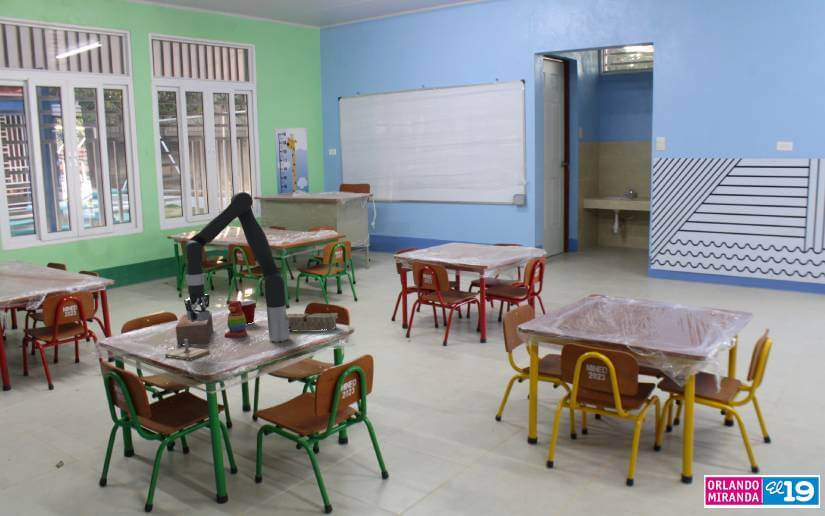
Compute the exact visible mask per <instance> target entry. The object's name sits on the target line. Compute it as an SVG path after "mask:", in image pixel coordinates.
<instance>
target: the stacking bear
mask: <svg viewBox="0 0 825 516" xmlns="http://www.w3.org/2000/svg"><path fill="white" fill-rule="evenodd" d="M241 302H242V301H241V300H230V301H228V305H227V306H228V307H227V308H228V311H229V313H228V315H227V327H228V330H229V331H226V332H225V334H224V337H225V338H237V339H238V338H244V337H246V336H247V335H248V331H247V330H246V329H247V325H246V318H245V315H244V313H243V312H242V311H241V309H242V304H241Z"/></svg>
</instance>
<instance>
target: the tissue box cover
mask: <svg viewBox="0 0 825 516" xmlns="http://www.w3.org/2000/svg"><path fill="white" fill-rule="evenodd" d="M212 331H213V332H214V325H213V315H212V311H211V312H210V319H208V320H205V321H202V322H200V321H193V320H187V313H186V314H182V316H181V317H180V319H179V321H178V322H177V324H176V326H175V334H176V343H177V346H178V345H183V344H184V339H188V344H196V345H207V344H209V341H210V340H209V339H211V336H212V335H211V334H213V332H212Z"/></svg>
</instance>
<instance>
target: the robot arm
mask: <svg viewBox="0 0 825 516" xmlns="http://www.w3.org/2000/svg"><path fill="white" fill-rule="evenodd" d="M253 203H254V202H253V197H252V195H251V194H250V193H248V192H246V191H238V192H235V193H234V194H232V196H231V198H230V203H229V204H228V205H227V207H226V208H225V209H224V210H222V212H221V213H219V214H218V215H217V216H215V217H214V218H213V219H212V220H210V221H209V222H207V224H206V225H205V226H204V227H203V228H202V229H201V230H200V231H198V233H196V234H194V235H193V236H191V237H190V239H188V240H187V241H186V242H185V244H184V245H183V250H184V252H185V253H186V255H187V263H186V276H187V277H186V280H187V293H188V295H189V296H188V298H187V299H184V301H183V302H184V306H185V310H186V312H187V311H188V312H190V314H191V319H192V320H196V314H195V310H196V309H198V305H199V307H200V310H207V308H209V307H210V297H211V296H210V294H208V293H205V292H206V288H205V278H204V269H203V268H204V267H203V254H204V253H203V248H204V247H205V246H206V245H207V244H210V243H212V242H213V241H214V240H215V239H216V237H218V236H219V235H220V234H221V233H222V232H223V231H224V230H225V229H226V228H227V227H228V226H229V225H230V224H231V223H232V222H233V221H234V220H235V219H238V220H239V221H238V222H240V224H241V228H242V231H243V235H244V237H245V240H246V243H247V245H248V247H249V250H250V252H251V254H252V255H253V257H254V259H255V260H256V262H257V263H258V265H259V267H260V269H261V273H262V275H263V279H264V293H265V294H264V295H265V303H266V315H267V329H268V337H269V338H268V339H269V341H270V342H271V341H274V342H273V343H284V342H286V341H288V340H290V339H291V336H290V335H291V333H290V330H289V321H288V320H287V316H286V314H287V306H286V304H287V303H286V293H285V279H284V277H283V276H282V274H281V272H280V270H279V268H278V267H277V264H276V263H275V260H274V257H273V253H272V249H271V246H270V243H269V241H268V237H267V236H266V233H265V231H264V230H263V228H262V227H261V225H260V224H259V222H258V221H257V219H256V217H255V215H254V212H253V209H252V206H253ZM289 338H290V339H289ZM287 339H288V340H287ZM285 340H286V341H285ZM279 341H281V342H279Z"/></svg>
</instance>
